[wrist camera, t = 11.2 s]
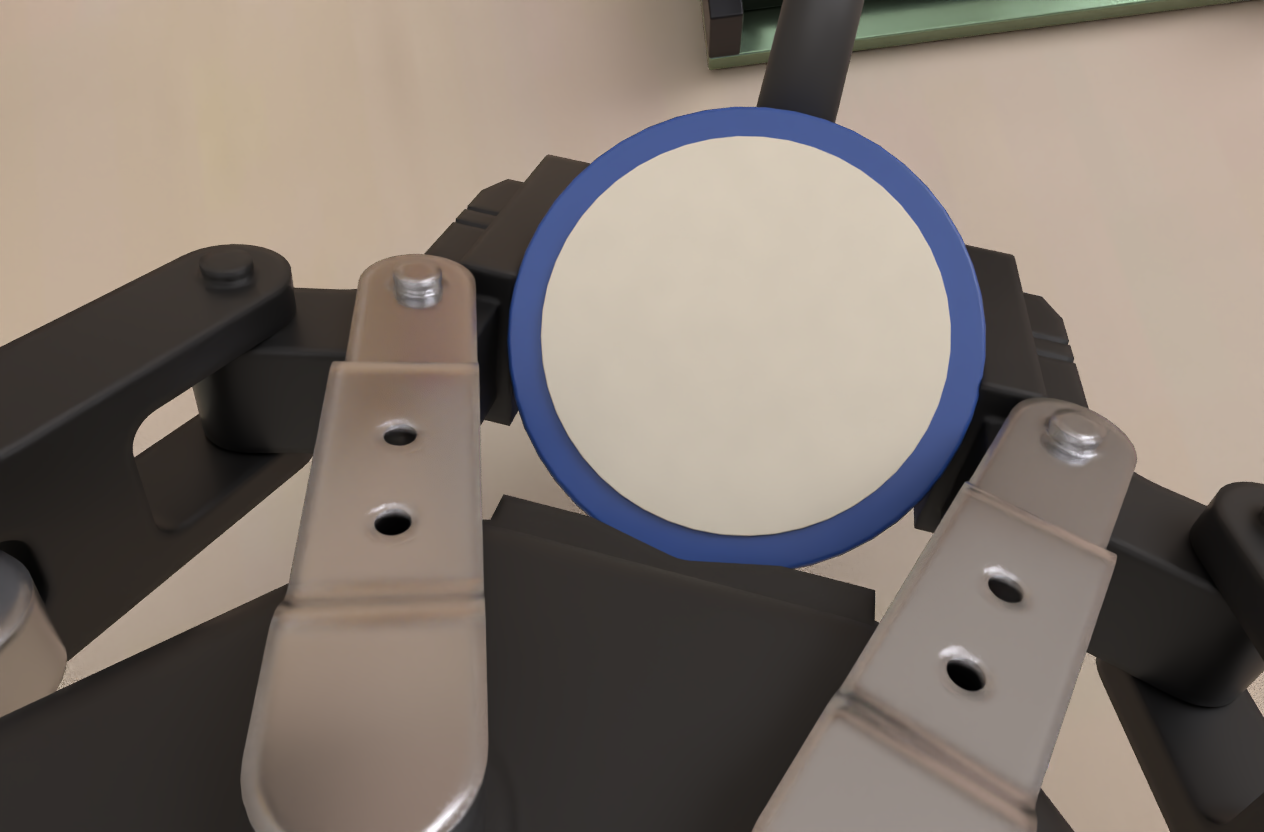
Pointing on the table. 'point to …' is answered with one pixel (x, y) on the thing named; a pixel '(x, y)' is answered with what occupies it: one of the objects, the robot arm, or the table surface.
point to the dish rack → (909, 21)
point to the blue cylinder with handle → (750, 324)
